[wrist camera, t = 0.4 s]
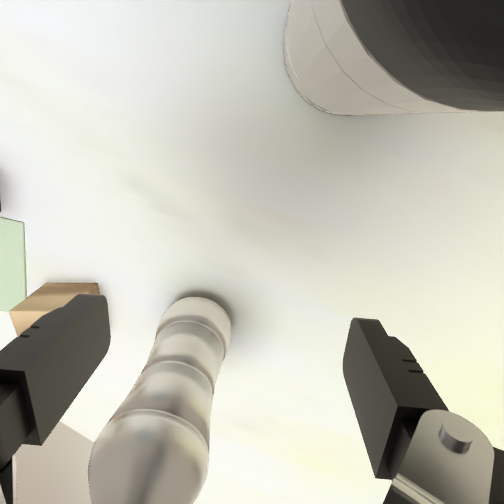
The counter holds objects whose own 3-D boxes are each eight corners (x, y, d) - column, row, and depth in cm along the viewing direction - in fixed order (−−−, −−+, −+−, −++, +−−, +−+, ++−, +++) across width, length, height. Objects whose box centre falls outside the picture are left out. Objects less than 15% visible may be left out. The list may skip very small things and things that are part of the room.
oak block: (46, 282, 31) (8, 311, 27) (97, 282, 31) (68, 311, 26) (59, 325, 33) (26, 359, 28) (107, 326, 33) (81, 360, 28)
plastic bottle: (215, 353, 33) (151, 645, 15) (155, 324, 32) (8, 600, 14) (246, 308, 31) (217, 586, 13) (184, 275, 30) (53, 526, 12)
